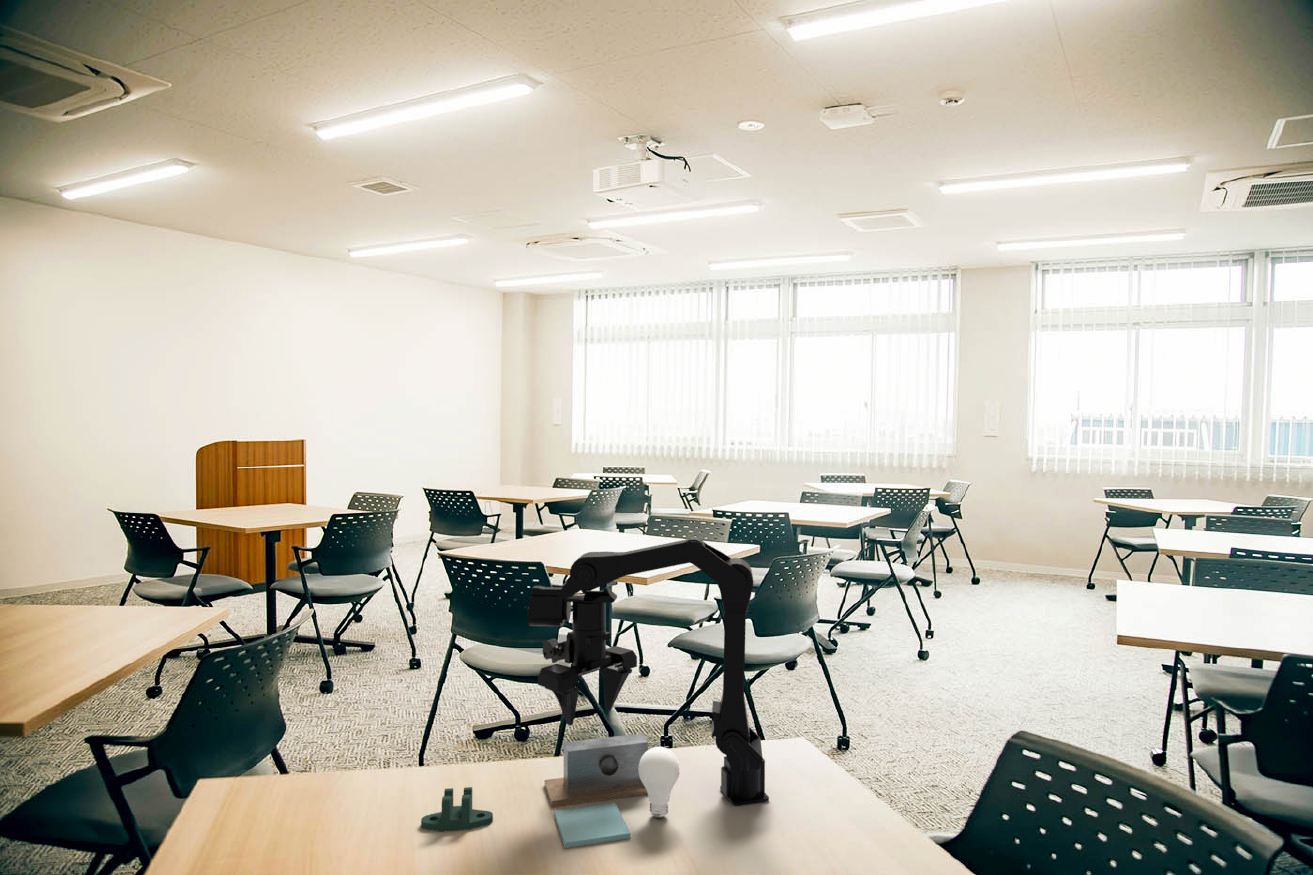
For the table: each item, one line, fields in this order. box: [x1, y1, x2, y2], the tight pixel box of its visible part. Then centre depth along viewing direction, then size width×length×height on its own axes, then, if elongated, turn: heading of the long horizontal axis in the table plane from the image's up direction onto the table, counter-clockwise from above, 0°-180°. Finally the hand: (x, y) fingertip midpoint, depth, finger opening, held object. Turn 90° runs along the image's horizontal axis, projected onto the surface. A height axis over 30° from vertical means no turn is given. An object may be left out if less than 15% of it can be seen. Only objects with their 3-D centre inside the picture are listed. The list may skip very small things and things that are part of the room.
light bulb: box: [638, 746, 681, 819], centre depth 123 cm, size 7×7×11 cm
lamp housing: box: [544, 733, 649, 808], centre depth 132 cm, size 20×8×8 cm, turn 106°
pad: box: [553, 802, 631, 849], centre depth 119 cm, size 10×10×1 cm
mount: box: [420, 786, 494, 833], centre depth 120 cm, size 11×4×5 cm, turn 98°
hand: (589, 717), depth 132 cm, fingers open, 9 cm apart
